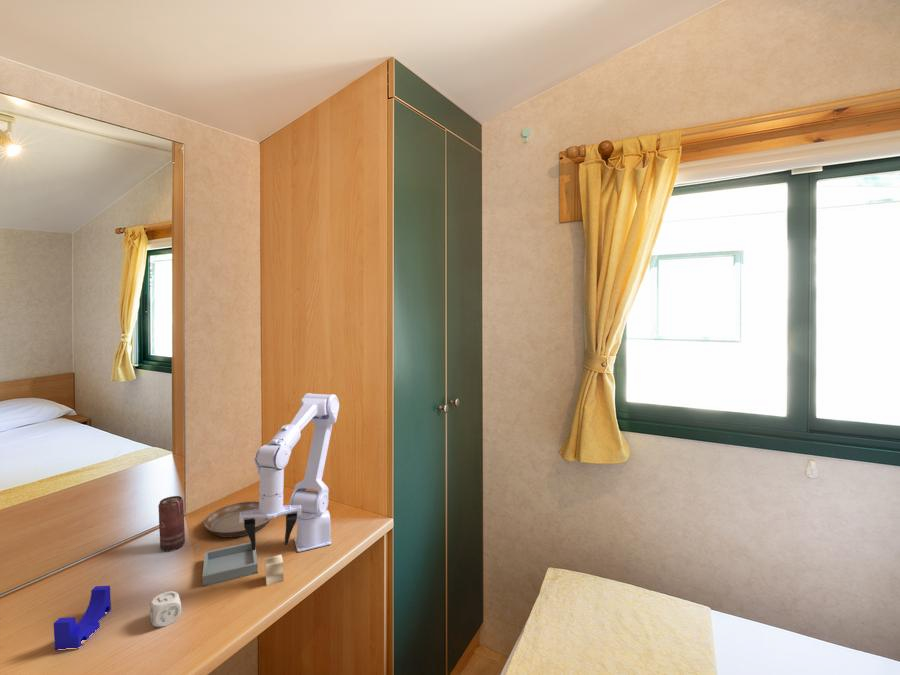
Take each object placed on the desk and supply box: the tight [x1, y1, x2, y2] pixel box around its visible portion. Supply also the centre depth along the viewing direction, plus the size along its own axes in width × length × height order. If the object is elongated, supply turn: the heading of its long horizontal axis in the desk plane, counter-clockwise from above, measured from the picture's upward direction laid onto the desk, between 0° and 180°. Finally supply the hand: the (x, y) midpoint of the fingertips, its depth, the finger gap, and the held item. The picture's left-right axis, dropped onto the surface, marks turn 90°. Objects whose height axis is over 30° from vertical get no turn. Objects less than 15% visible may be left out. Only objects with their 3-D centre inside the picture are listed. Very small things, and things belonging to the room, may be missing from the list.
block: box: [264, 554, 285, 586], centre depth 113 cm, size 4×4×5 cm
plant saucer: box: [203, 500, 273, 538], centre depth 142 cm, size 21×21×3 cm
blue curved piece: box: [53, 584, 112, 651], centre depth 95 cm, size 12×4×6 cm, turn 5°
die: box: [149, 590, 182, 628], centre depth 98 cm, size 5×5×5 cm
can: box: [158, 495, 186, 552], centre depth 128 cm, size 6×6×14 cm
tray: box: [201, 541, 259, 587], centre depth 118 cm, size 13×13×2 cm
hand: (270, 545), depth 112 cm, fingers open, 7 cm apart
